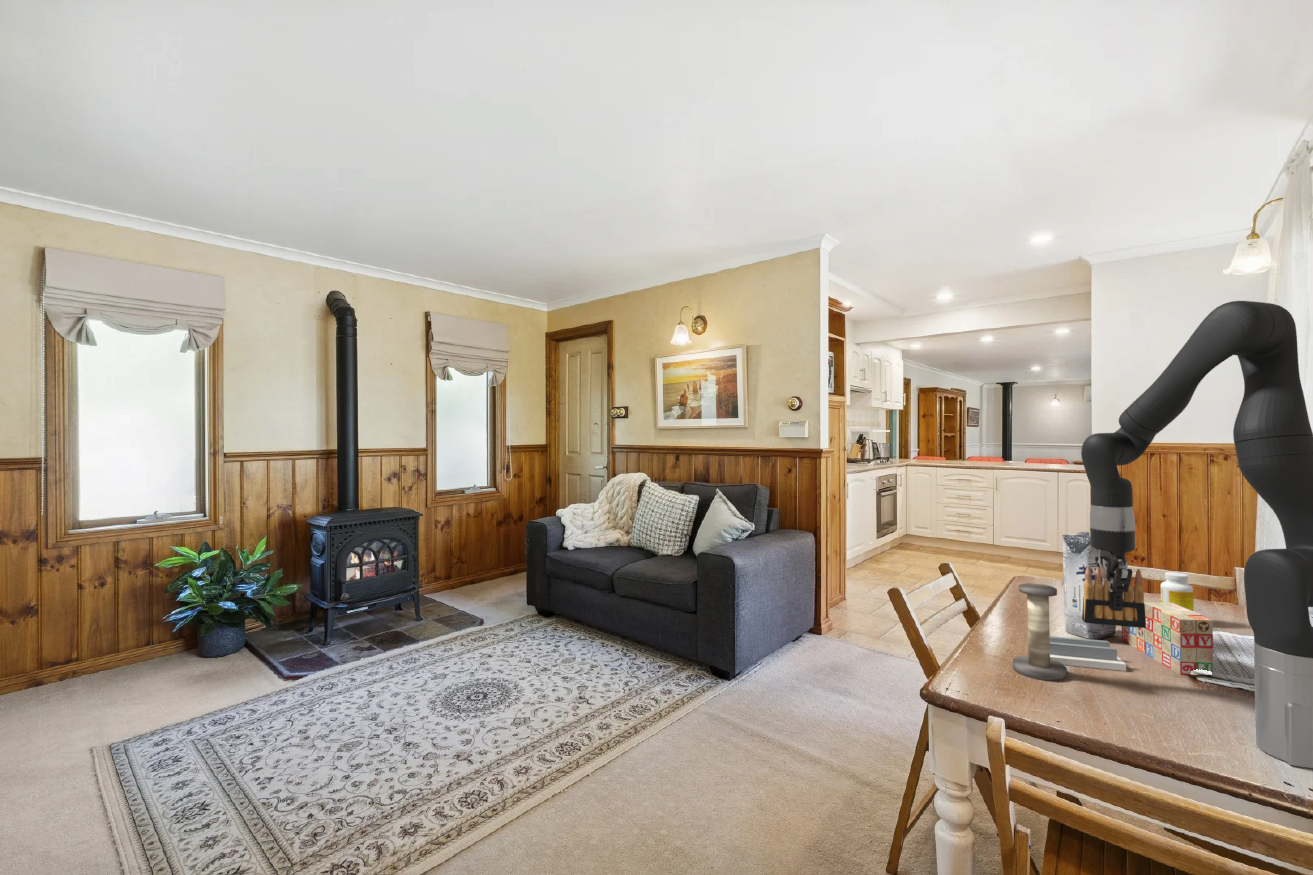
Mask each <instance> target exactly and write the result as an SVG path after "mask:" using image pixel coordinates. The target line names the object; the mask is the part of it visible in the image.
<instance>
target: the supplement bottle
mask: <svg viewBox="0 0 1313 875" xmlns="http://www.w3.org/2000/svg"><path fill="white" fill-rule="evenodd" d="M1164 577H1165V581H1163V582H1161V583H1160V603H1174V604H1176V605H1179V606H1181V607H1184V608H1186V609H1188V610H1191V611H1194V612H1195V609H1194V607H1195V605H1194V588H1193V586H1192V585H1191V584H1189V583H1188V580H1189V575H1188V574H1186V573H1181V572H1174V571H1167V572H1165V573H1164Z"/></svg>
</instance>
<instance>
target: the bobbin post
mask: <svg viewBox="0 0 1313 875" xmlns="http://www.w3.org/2000/svg"><path fill="white" fill-rule="evenodd" d="M1018 591H1019V592H1020V593H1022V594H1025V595H1026V601H1027V602H1026V605H1027V606H1026V607H1027V608H1026V609H1027V649H1028V650H1027V651H1028V652H1027V653H1028V655H1020V656H1015V657H1013V659H1012V669H1013V670H1014V671H1015V672H1017V673H1018V674H1020V675H1022V676H1024V677H1027V678H1029V679H1035V680H1039V681H1046V682H1047V681H1049V682H1054V681H1055V682H1058V681H1064V680H1066V679H1067V678H1068V668H1067V666H1066V665H1063V664H1061V663H1059V662H1057V661H1054V660H1051V659H1050V636H1051V635H1050V598H1051V597H1056V596H1058V589H1057V588H1056V587H1055V586H1052V585H1048V584H1041V583H1030V582H1029V583H1021V584H1019V585H1018ZM1049 597H1050V598H1049Z"/></svg>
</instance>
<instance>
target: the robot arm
mask: <svg viewBox="0 0 1313 875" xmlns="http://www.w3.org/2000/svg"><path fill="white" fill-rule="evenodd" d="M1296 327H1297V326H1296V322H1295V319H1294V317H1293V315H1292V313H1290V311H1288V309H1286V308H1284V307H1283V306H1282V305H1279V304H1276V303H1271V302H1263V301H1262V302H1260V301H1251V300H1232V301H1229V302H1225V303H1223V304H1220V305H1219V306H1217V307H1216V308H1214V309H1213V310H1212V311H1211V312H1209V314H1208V315H1207V316H1205V318H1204V319H1203V320H1202V321H1201V322H1200V324H1199V325H1198V326H1197V327H1196V329H1195V330H1194V332H1193V333H1192V334H1191V335H1190V337H1189V339H1187V341H1186V342H1185V343H1184V345H1183V346H1182V347H1181V349H1180V350H1179V351H1178V352H1177V354H1176V355H1175V356H1174V357H1173V358H1172V360H1171V361H1170V362H1169V364H1167V367H1166V368H1165V369H1164V370H1163V371H1162V372H1161V374H1160V375H1159V376H1158V377H1157V378H1156V379H1155V381H1154V382H1153V383H1152V384H1151V385H1150V386H1149V387H1148V388H1146V390H1144V391H1143V393H1141V394H1140V395H1139V396H1138V397H1137V398H1136V399H1135V400H1134V401H1132V402H1131V404H1129V405H1128V407H1126V408H1125V409H1124V411H1123V412H1122V413H1120V415H1119V417H1118V424H1119V426H1120V428H1118V429H1117V430H1116V431H1115V432H1099V433H1092V434H1090V435H1089V436H1088V437H1086V439H1085V440H1084V441H1083V442H1082V445H1081V451H1080V455H1081V460H1082V464H1083V467H1084V470H1085V473H1086V477H1087V479H1088V482H1089V485H1090V509H1089V533H1090V546H1091V547H1092V548H1094V549H1097V550H1100V556H1099V557H1097V556H1096V557H1095V562H1096V567H1099V568H1100V571H1101V576H1102V586H1104V580H1105V579H1106V580H1107V581H1108V590H1109V608H1110V609H1111V610H1114V611H1122V610H1123V593H1124V592H1128V589H1129V585H1130V581H1131V577H1132V576H1133V572H1134V571H1133V570H1132V568H1128V566H1129V564H1128V561H1127V559H1126V555H1125V554H1126V553H1127V552H1128V553H1130V552H1134V551H1135V550H1136V522H1135V512H1134V504H1133V503H1134V502H1133V501H1134V500H1133V496H1134V495H1133V485H1132V482H1131V481H1130V480H1129V479H1127V478H1125V477H1121V476H1120V475H1121V474H1120V473H1119V469H1118V466H1126V465H1129V464H1131V463H1133V462H1135V461H1136V460H1138V459H1139V458H1140V457H1141V456H1142V455H1144V453H1145V452H1146V450H1147V449H1148V447H1149V446H1150V444H1151V443H1152V442H1153V440H1154V439H1155V437H1156V435H1158V434H1159V433H1160V432H1161V431H1162V430H1164V429H1165V428H1166V427H1167V426H1168V425H1170V424H1171V423H1172V422H1173V421H1174V420H1176V419H1177V417H1178V416H1179V415H1181V413H1183V411H1185V409H1186V408H1187V407H1188V405H1189V403H1190V402H1191V400H1192V398H1193V396H1194V394H1195V392H1196V390H1197V388H1198V386H1199V385H1200V384H1201V382H1202V381H1203V379H1204V378H1205V377H1206V376H1207V375H1208V374H1209V373H1210V372H1211V371H1212V370H1214V369H1215V368H1216V367H1217V366H1219V365H1220V364H1222V363H1223V362H1225V361H1226V360H1228V359H1229V358H1230V357H1232V356H1237V358H1238V361H1239V364H1240V368H1241V373H1242V376H1243V377H1242V378H1243V381H1244V382H1243V384H1244V392H1243V397H1242V400H1241V404H1240V406H1239V409H1238V411H1237V414H1236V418H1235V421H1234V425H1233V429H1232V434H1233V443H1234V449H1235V454H1236V460H1237V464H1238V467H1239V470H1240V472H1241V474H1242V476H1243V477H1244V479H1245V480H1246V482H1247V484H1249V485H1250V487H1252V489H1253V490H1254V491H1255V492H1256V494H1258V495H1259V496H1260V497H1261V498H1262V500H1263V501H1264V502H1265V503H1266V504H1267V505H1268V506H1269V508H1271V510H1272V511H1273V513H1274V514H1275V515H1276V518H1277V519H1278V522H1279V524H1280V527H1281V530H1282V533H1283V538H1284V543H1285V548H1268V549H1267V548H1266V549H1260V550H1257V551H1255V552H1253V553H1252V554H1251V555H1250V556H1249V557H1248V559H1247V560H1246V562H1245V565H1244V571H1243V584H1244V585H1243V587H1244V595H1245V597H1244V598H1245V606H1246V617H1247V620H1248V624H1249V626H1250V627H1251V628H1250V629H1251V630H1252V632H1253V646H1254V649H1253V651H1254V657H1253V658H1254V660H1253V662H1254V667H1253V668H1254V710H1255V711H1254V714H1255V715H1254V716H1255V745H1256V746H1257V747H1258V748H1259V749H1260V750H1261V751H1263V752H1265V753H1266V754H1268V755H1270V756H1272V757H1274V758H1277V759H1279V760H1282V761H1284V762H1286V763H1287V764H1289V765H1290V766H1293V767H1302V768H1309V769H1313V626H1312V624H1311V623H1312V622H1311V619H1310V612H1309V608H1313V429H1312V427H1311V423H1310V418H1309V414H1308V409H1307V404H1306V399H1305V395H1304V390H1303V387H1302V383H1301V381H1302V380H1301V377H1300V368H1299V351H1298V350H1299V348H1298V335H1297V328H1296ZM1110 576H1111V577H1110ZM1118 584H1119V586H1118Z"/></svg>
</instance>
